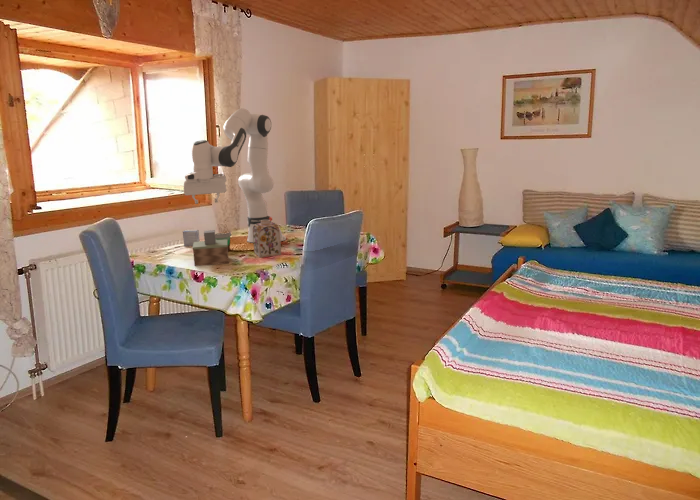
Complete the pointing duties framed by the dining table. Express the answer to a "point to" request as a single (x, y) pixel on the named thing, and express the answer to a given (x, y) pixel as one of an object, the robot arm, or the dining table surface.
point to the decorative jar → (266, 239)
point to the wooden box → (210, 256)
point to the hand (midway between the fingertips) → (206, 203)
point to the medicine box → (190, 237)
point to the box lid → (202, 245)
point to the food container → (224, 238)
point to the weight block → (209, 237)
